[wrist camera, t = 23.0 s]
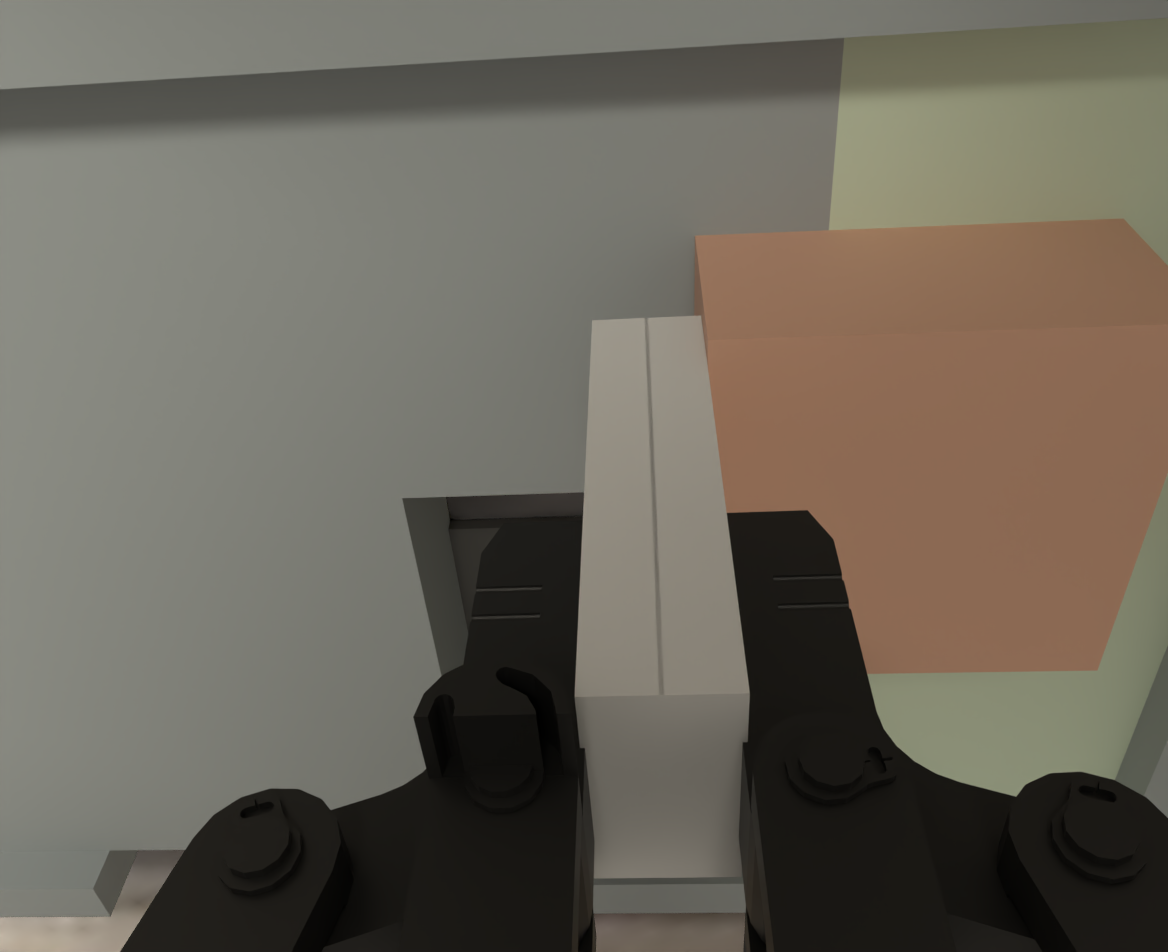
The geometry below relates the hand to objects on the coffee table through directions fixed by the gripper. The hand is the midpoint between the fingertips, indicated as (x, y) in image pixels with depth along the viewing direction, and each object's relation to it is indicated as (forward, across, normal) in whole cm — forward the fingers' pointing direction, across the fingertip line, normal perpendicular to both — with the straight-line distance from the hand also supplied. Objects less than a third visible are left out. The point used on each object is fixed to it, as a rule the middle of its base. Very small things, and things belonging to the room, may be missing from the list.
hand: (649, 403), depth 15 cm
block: (+2, +4, -1) cm, 4 cm away
